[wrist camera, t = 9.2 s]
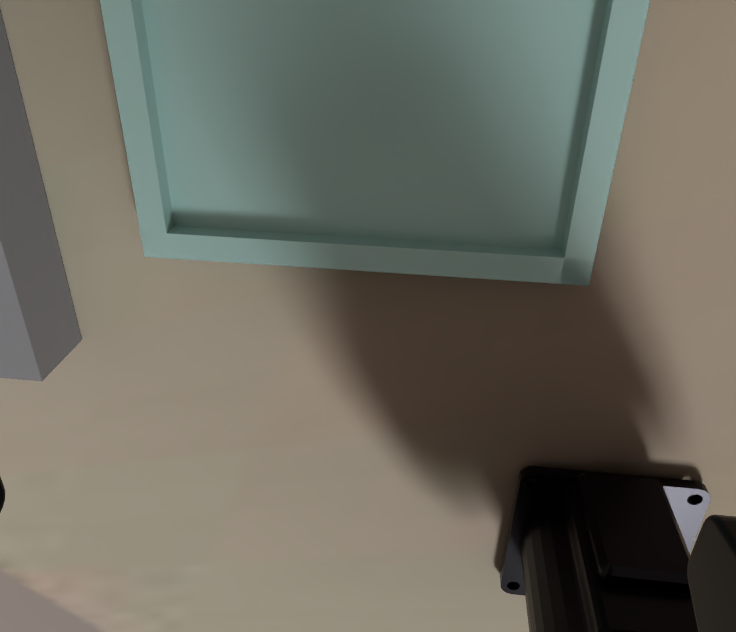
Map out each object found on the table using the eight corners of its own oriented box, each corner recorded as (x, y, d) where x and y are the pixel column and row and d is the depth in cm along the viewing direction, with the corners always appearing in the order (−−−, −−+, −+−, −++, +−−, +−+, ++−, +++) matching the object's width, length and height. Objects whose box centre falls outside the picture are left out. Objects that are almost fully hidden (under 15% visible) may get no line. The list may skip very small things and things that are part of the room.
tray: (666, -147, 14) (682, -155, 13) (580, 267, 19) (588, 285, 18) (98, -149, 15) (72, -157, 14) (160, 241, 20) (144, 256, 19)
